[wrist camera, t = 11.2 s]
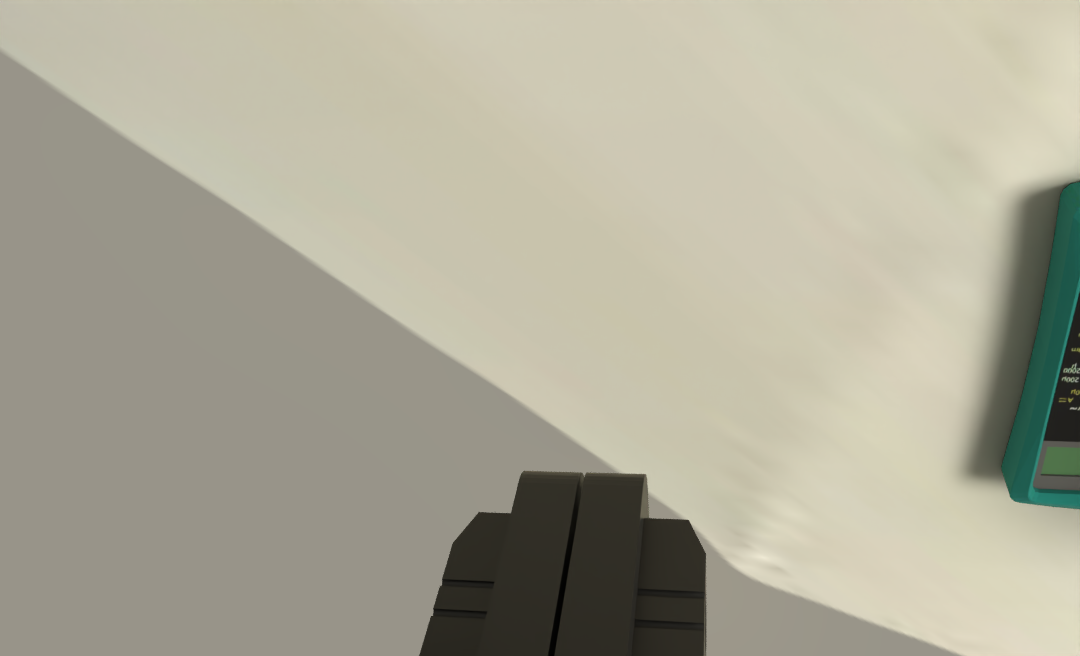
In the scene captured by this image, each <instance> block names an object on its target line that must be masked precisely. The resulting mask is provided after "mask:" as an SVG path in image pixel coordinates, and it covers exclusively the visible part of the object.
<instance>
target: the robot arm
mask: <svg viewBox="0 0 1080 656" xmlns="http://www.w3.org/2000/svg"><path fill="white" fill-rule="evenodd" d="M433 609H434V613H433V616H431V618H430V622H429V625H428V628H427V632H426V635H425V639H424V642H423V645H422V648H421V652H420V655H419V656H706V553H705V551H704V549H703V547H702V545H701V543H700V541H699V539H698V538H697V536H696V534H695V532H694V530H693V528H692V526H691V524H690V522H689V520H678V519H652V518H649V507H648V487H647V477H646V474H619V473H586V475H585V477H584V475H583V473H574V472H541V471H523V472H522V474H521V476H520V479H519V483H518V487H517V491H516V495H515V499H514V504H513V507H512V512H511V513H486V512H485V513H484V512H479V513H478V514H477V515H476V516H475V518H474V519H473V520H472V521H471V522H470V523H469V525H468V526H467V527H466V528H465V529H464V531H463V532H462V533H461V534H460V535H459V536H458V538H457V539H456V540H455V541H454V542H453V544H452V548H451V551H450V554H449V558H448V561H447V565H446V568H445V572H444V575H443V578H442V586H440V588H439V591H438V595H437V598H436V602H435V605H434V608H433Z"/></svg>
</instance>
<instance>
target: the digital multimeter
mask: <svg viewBox="0 0 1080 656" xmlns="http://www.w3.org/2000/svg"><path fill="white" fill-rule="evenodd" d="M1079 292H1080V182H1077V183H1072V184H1070V185H1068V186H1067V187H1066V188H1064V190H1063V192H1062V193H1061V195H1060V202H1059V208H1058V215H1057V221H1056V228H1055V234H1054V241H1053V247H1052V254H1051V260H1050V265H1049V271H1048V276H1047V282H1046V287H1045V293H1044V298H1043V303H1042V309H1041V314H1040V320H1039V325H1038V331H1037V335H1036V339H1035V343H1034V347H1033V351H1032V356H1031V360H1030V364H1029V368H1028V372H1027V376H1026V381H1025V385H1024V389H1023V393H1022V397H1021V401H1020V404H1019V407H1018V411H1017V414H1016V418H1015V421H1014V425H1013V428H1012V432H1011V435H1010V439H1009V442H1008V446H1007V449H1006V452H1005V456H1004V459H1003V463H1002V466H1001V468H1002V473H1003V476H1004V479H1005V482H1006V485H1007V488H1008V491H1009V494H1010V497H1011V499H1013V500H1014V501H1015V502H1020V503H1027V504H1035V505H1043V506H1052V507H1062V508H1073V509H1080V293H1079ZM1078 296H1079V297H1078ZM1077 300H1078V301H1077ZM1076 304H1077V305H1076ZM1075 308H1076V310H1075ZM1074 312H1075V314H1074ZM1073 317H1074V318H1073ZM1072 321H1073V322H1072ZM1071 325H1072V326H1071ZM1070 329H1071V330H1070ZM1069 333H1070V334H1069ZM1068 337H1069V338H1068ZM1067 341H1068V342H1067ZM1066 345H1067V346H1066ZM1065 349H1066V351H1065ZM1064 354H1065V355H1064ZM1063 358H1064V359H1063ZM1062 362H1063V363H1062ZM1061 366H1062V367H1061ZM1060 370H1061V371H1060ZM1059 374H1060V375H1059ZM1058 378H1059V379H1058ZM1057 382H1058V383H1057ZM1056 386H1057V387H1056ZM1054 395H1055V396H1054ZM1053 399H1054V400H1053ZM1052 403H1053V404H1052ZM1051 407H1052V408H1051ZM1050 411H1051V412H1050ZM1049 415H1050V416H1049ZM1048 419H1049V420H1048ZM1047 423H1048V424H1047ZM1046 427H1047V428H1046Z"/></svg>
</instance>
